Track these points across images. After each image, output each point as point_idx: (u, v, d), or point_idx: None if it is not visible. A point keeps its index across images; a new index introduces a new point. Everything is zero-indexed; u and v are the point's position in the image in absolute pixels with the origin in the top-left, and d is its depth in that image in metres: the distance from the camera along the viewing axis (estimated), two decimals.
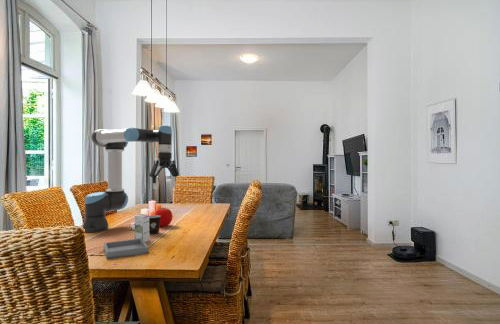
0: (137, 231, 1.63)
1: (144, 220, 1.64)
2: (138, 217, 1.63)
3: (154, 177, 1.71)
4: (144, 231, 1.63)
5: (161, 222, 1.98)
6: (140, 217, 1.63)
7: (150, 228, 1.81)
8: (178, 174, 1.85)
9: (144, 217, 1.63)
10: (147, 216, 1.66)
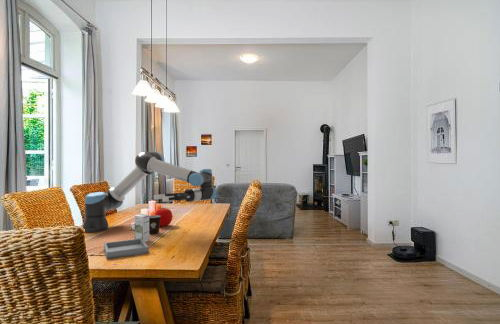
0: (137, 231, 1.63)
1: (144, 220, 1.64)
2: (138, 217, 1.63)
3: (175, 199, 1.69)
4: (144, 231, 1.63)
5: (161, 222, 1.98)
6: (140, 217, 1.63)
7: (150, 228, 1.81)
8: None
9: (144, 217, 1.63)
10: (147, 216, 1.66)
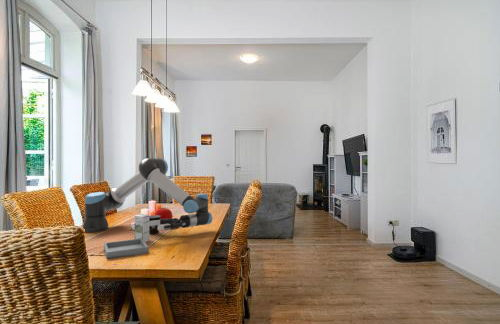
0: (137, 231, 1.63)
1: (144, 220, 1.64)
2: (138, 217, 1.63)
3: (170, 227, 1.67)
4: (144, 231, 1.63)
5: None
6: (140, 217, 1.63)
7: (150, 228, 1.81)
8: None
9: (144, 217, 1.63)
10: (147, 216, 1.66)
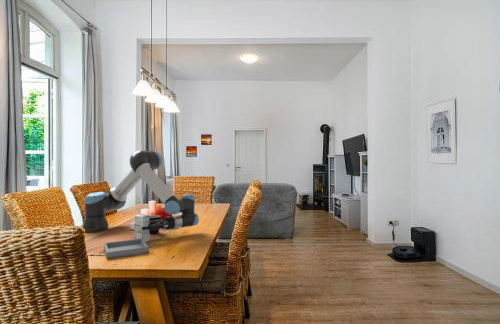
0: None
1: (144, 220, 1.64)
2: (138, 217, 1.63)
3: (148, 229, 1.63)
4: (144, 231, 1.63)
5: None
6: (140, 217, 1.63)
7: None
8: None
9: (144, 217, 1.63)
10: (147, 216, 1.66)
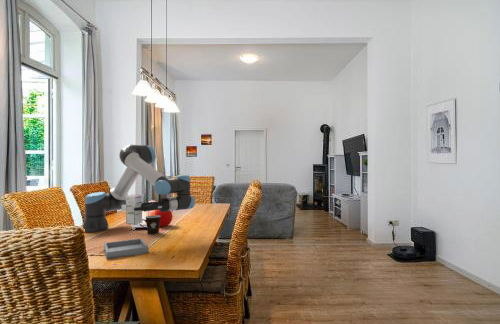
0: (129, 212, 1.52)
1: (136, 201, 1.52)
2: (130, 197, 1.51)
3: (141, 210, 1.51)
4: (136, 212, 1.52)
5: (161, 222, 1.98)
6: (132, 197, 1.51)
7: (150, 228, 1.81)
8: None
9: (136, 197, 1.52)
10: (139, 196, 1.54)
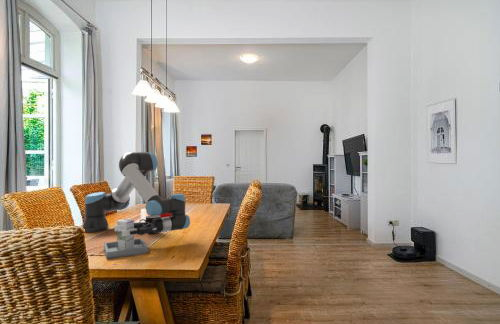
0: (120, 238, 1.45)
1: (128, 226, 1.46)
2: (121, 222, 1.45)
3: (137, 233, 1.44)
4: (128, 238, 1.46)
5: None
6: (123, 222, 1.45)
7: None
8: None
9: (128, 222, 1.45)
10: (131, 221, 1.48)
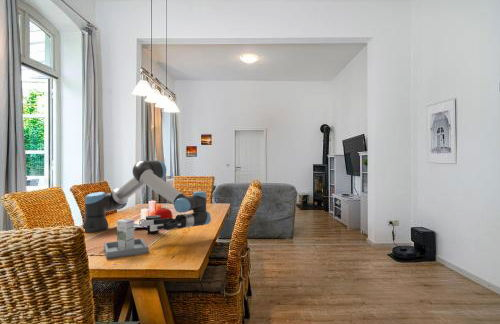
0: (120, 238, 1.45)
1: (128, 226, 1.46)
2: (121, 222, 1.45)
3: (164, 228, 1.52)
4: (128, 238, 1.46)
5: None
6: (123, 222, 1.45)
7: None
8: None
9: (128, 222, 1.45)
10: (131, 221, 1.48)
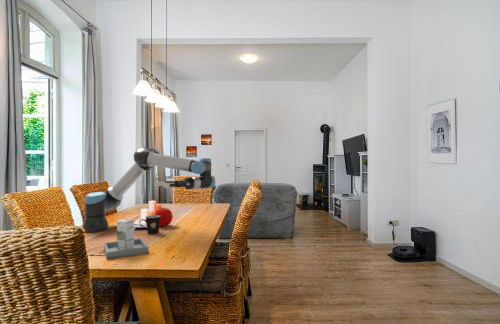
0: (120, 238, 1.45)
1: (128, 226, 1.46)
2: (121, 222, 1.45)
3: (175, 186, 1.75)
4: (128, 238, 1.46)
5: (161, 222, 1.98)
6: (123, 222, 1.45)
7: (150, 228, 1.81)
8: None
9: (128, 222, 1.45)
10: (131, 221, 1.48)
